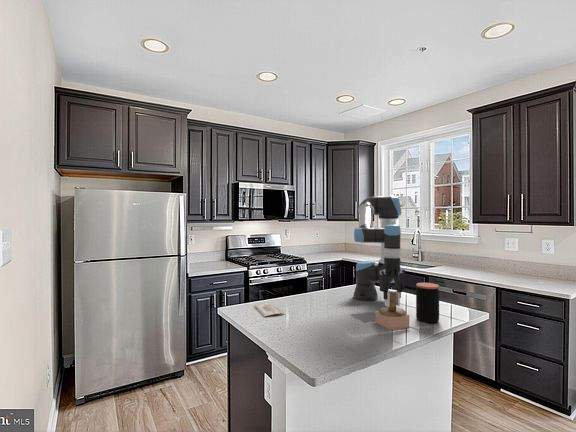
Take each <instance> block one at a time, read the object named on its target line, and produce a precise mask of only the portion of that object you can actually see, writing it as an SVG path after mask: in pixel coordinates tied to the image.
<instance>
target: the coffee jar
mask: <svg viewBox="0 0 576 432" xmlns="http://www.w3.org/2000/svg"><path fill="white" fill-rule="evenodd" d="M439 288H440V285H439V284H436V283H433V282H417V283H416V289H415V318H416V320H417V321H419V322H421V323H426V324H428V325H431V324H433V325H435V324H437V323H438V322H439V321H440V290H439Z"/></svg>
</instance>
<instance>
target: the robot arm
mask: <svg viewBox="0 0 576 432" xmlns="http://www.w3.org/2000/svg"><path fill="white" fill-rule="evenodd" d="M357 211H358V215H359V217H358V218H359V219H358V227H355V228H353V229H354V230H353V232H354V233H353V236H354V237H353V238H354V239H353V240H354V242H355V243H362V244H363V243H365V244H366V243H371V244H373V243H375V244H381V245H380V259H379V260H378V262H377V263H376V261H375V260H363V261H359V262H357V263H356V269H355V273H356V274H355V275H356V276H355V288H354V292H353V296H352V297H353V298H354V299H356V300H358V301H364V302H365V301H369V302H370V301H371V302H372V301H376V300H378V298H379V295H378V291H377V289H376V283H379V291H380V292H382V293H383V294H382V295H383V299H384V306H385V307H389V302H390V293H388V291H390V289H389V288H390V285H391V284H394V287H395V290H394V291H395V292H396V307H397V306H398V307H400V306H401V301H400V300H401V298H402V293H403V291H405V289H406V288H405V286H406V285H405V284H406V283H405V274H406V270H405V269H403V268H401V263H402V262H401V261H402V259H401V256H402V255H401V254H402V253H401V252H402V251H401V250H402V249H401V236H402V235H401V233H402V232H401V231H402V230H401V225H400V224H397V223H396V222H397V220H398V219H399V216H401V215H402V209H401V202H400V198H399V197H398V196H397V195H380V196H379V195H377V196H376V195H372V196H370V197H367V198H365V199H363V200H362V201H361V202H360V203H359V205H358V208H357ZM374 216H378V219H379V220H380V223H381V224H380V227H374V225H373V224H374Z"/></svg>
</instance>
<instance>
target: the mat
mask: <svg viewBox="0 0 576 432" xmlns="http://www.w3.org/2000/svg"><path fill="white" fill-rule="evenodd" d="M349 315H350V316H351V317H354V318H356V320H358V321H360V322H362V323H365V324H366V323H372V322H373V323H374V322H376V312H374V311H369V312H359V313H352V314H351V313H350V314H349Z"/></svg>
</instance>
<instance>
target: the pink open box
mask: <svg viewBox="0 0 576 432" xmlns="http://www.w3.org/2000/svg"><path fill="white" fill-rule="evenodd" d="M375 313H376V321H375V323H376V324H378V325H380V326H381V327H384V328H386V329H387V330H397V329H398V330H399V329H404V328H410V314H408V313H406V315H405V316H401V317H392V316H386V315H382V314H380V313H379V309H378V310H375Z"/></svg>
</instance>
